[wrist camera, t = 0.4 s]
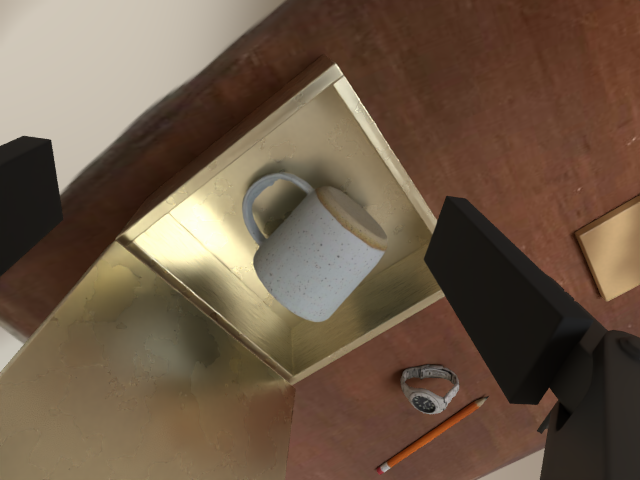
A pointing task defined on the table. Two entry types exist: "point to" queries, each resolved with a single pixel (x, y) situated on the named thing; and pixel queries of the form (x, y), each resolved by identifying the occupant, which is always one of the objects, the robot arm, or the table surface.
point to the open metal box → (274, 208)
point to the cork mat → (614, 249)
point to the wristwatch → (424, 397)
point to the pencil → (431, 435)
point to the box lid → (139, 389)
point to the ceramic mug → (315, 248)
